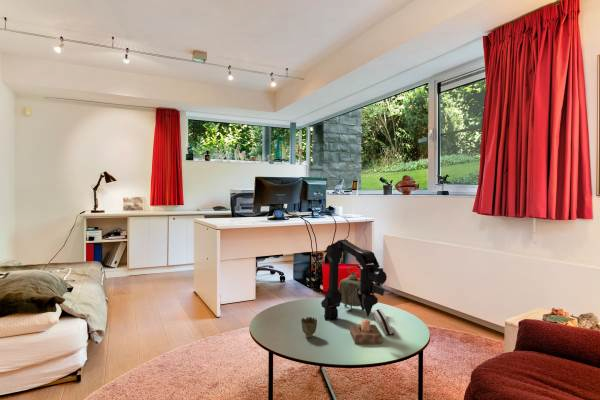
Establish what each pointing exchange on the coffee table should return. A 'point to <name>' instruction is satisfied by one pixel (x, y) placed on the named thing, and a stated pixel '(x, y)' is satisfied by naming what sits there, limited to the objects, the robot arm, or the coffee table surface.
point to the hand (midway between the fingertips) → (365, 312)
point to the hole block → (365, 335)
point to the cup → (309, 326)
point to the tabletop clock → (350, 290)
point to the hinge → (383, 322)
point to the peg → (365, 325)
